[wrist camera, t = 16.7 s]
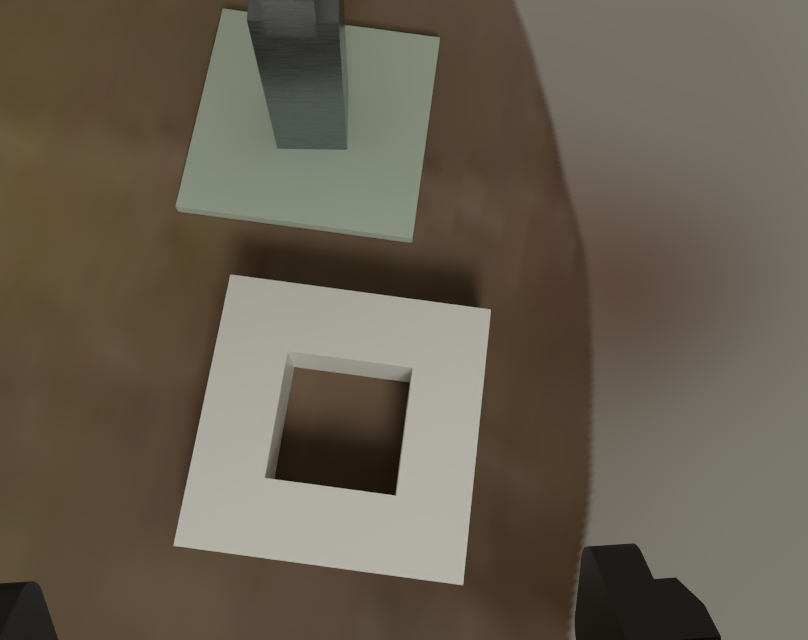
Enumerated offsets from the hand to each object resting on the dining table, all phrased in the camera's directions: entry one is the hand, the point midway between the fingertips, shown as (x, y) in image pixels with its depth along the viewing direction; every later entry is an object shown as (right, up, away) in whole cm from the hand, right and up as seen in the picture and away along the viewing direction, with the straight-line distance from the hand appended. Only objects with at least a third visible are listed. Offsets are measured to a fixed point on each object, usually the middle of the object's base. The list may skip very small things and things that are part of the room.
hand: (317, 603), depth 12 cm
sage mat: (-3, +15, +30) cm, 33 cm away
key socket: (-2, -1, +25) cm, 25 cm away
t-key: (-3, +15, +29) cm, 33 cm away
